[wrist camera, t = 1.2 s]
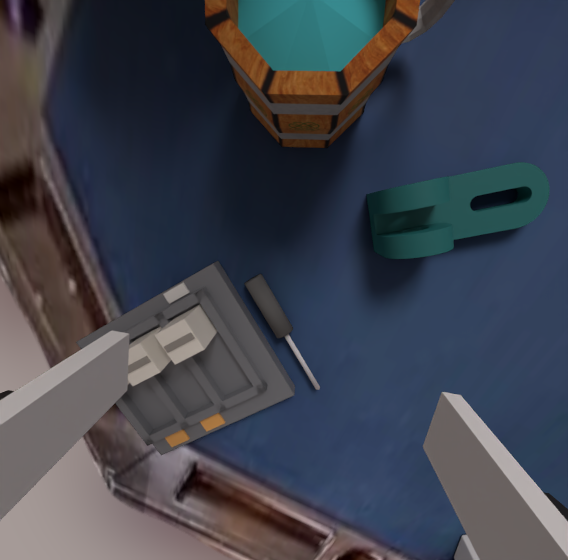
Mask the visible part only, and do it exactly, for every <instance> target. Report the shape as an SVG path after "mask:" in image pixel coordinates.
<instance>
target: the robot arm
mask: <svg viewBox="0 0 568 560" xmlns="http://www.w3.org/2000/svg"><path fill="white" fill-rule="evenodd" d="M128 359H129V334H128V333H123V332H118V331H110V332H108V333H107V334H105V335H104V336H102V337H100V338H99V339H97V340H96V341H94V342H92V343H91V344H89V345H88V346H86V347H84V348H83V349H81V350H80V351H78V352H76V353H75V354H73V355H72V356H70V357H68V358H67V359H65V360H64V361H62V362H60V363H59V364H57V365H56V366H54V367H52V368H51V369H49V370H48V371H46V372H44V373H43V374H41V375H40V376H38V377H36V378H35V379H34V380H32V381H30V382H29V383H27V384H25V385H24V386H22V387H21V388H19V389H17V390H16V391H9V390H8V391H5V392H2V393H0V520H1V519H2V518H3V517H4V516H5V515H6V514H7V513H8V512H9V511H10V510H11V509H12V508H13V507H14V506H15V505H16V504H17V502H19V501H20V500H21V498H22V497H24V496H25V495H26V494H27V492H28V491H29V490H30V489H31V488H32V487H33V486H34V485H35V484H36V483H37V482H38V481H39V480H40V479H41V478H42V477H43V476H44V475H45V474H46V473H47V472H48V471H49V470H50V469H51V468H52V467H53V466H54V465H55V464H56V463H57V462H58V461H59V460H60V459H61V458H62V457H63V456H64V455H65V454H66V453H67V452H68V450H69V449H70V448H71V447H72V446H73V445H74V444H75V443H76V442H77V441H78V440H79V439H80V438H81V437H82V436H83V435H84V434H85V433H86V432H87V431H88V430H89V429H90V428H91V427H92V426H93V425H94V424H95V423H96V422H97V421H98V420H99V419H100V418H101V417H102V416H103V415H104V414H105V413H106V412H107V411H108V410H109V409H110V408H111V407H112V406H113V405H114V404H115V402H116V401H117V400H118V399H119V398H120V397H121V396H122V395H123V394H124V393H125V392H126V391H127V387H128ZM423 448H424V450H425V452H426V454H427V456H428V458H429V460H430V462H431V464H432V466H433V468H434V470H435V472H436V474H437V476H438V478H439V480H440V482H441V484H442V486H443V488H444V490H445V492H446V494H447V496H448V498H449V500H450V502H451V504H452V506H453V508H454V510H455V512H456V514H457V516H458V518H459V520H460V522H461V524H462V526H463V528H464V530H465V532H466V534H467V536H468V538H469V540H470V542H471V544H472V546H473V548H474V550H475V552H476V554H477V555H478V557H479V559H480V560H568V509H567V508H566V507H565V506H563V505H562V504H561V503H560V502H559V501H557V500H556V499H555V498H554V497H553V496H551V495H550V494H549V493H544V492H542V491H541V489H540V488H539V487H538V486H537V485H536V483H535V482H534V481H533V480H532V479H531V478H530V476H529V475H528V474H527V473H526V472H525V471H524V469H523V468H522V467H521V466H520V465H519V463H518V462H517V461H516V460H515V459H514V458H513V456H512V455H511V454H510V453H509V452H508V450H507V449H506V448H505V447H504V446H503V445H502V443H501V442H500V441H499V440H498V439H497V438H496V436H495V435H494V434H493V433H492V432H491V430H490V429H489V428H488V427H487V426H486V425H485V423H484V422H483V421H482V420H481V419H480V417H479V416H478V415H477V414H476V413H475V412H474V410H473V409H472V408H471V407H470V406H469V405H468V403H467V402H466V401H465V400H464V399H463V397H462V396H461V395H456V394H451V393H445V392H442V393H441V396H440V399H439V402H438V405H437V407H436V410H435V413H434V416H433V419H432V422H431V425H430V427H429V430H428V433H427V436H426V439H425V442H424V445H423Z"/></svg>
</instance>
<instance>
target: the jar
mask: <svg viewBox="0 0 568 560" xmlns="http://www.w3.org/2000/svg"><path fill="white" fill-rule="evenodd" d="M454 559H455V560H480V559H479V557H478V555H477V554H476V552H475V550H474V548H473V546H472V544H471V542H470V540H469V538H468V536H467V534H466V535H462V536H461V539H460V542H459V544H458V547H457V550H456V552H455V555H454Z"/></svg>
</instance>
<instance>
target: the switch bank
mask: <svg viewBox="0 0 568 560" xmlns="http://www.w3.org/2000/svg"><path fill="white" fill-rule="evenodd" d="M200 304H201V306H202V307H203V309H204V310H205V312H206V314H207V315H208V317H209V318H210V320H211V321H212V323H213V324H214V326H215V328H216V329H217V333H216V334H215V336H214V337H213V338H212V340H211V341H210V343H209V344H208V345H207V347H206V348H205V350H203V351H201V352H199V353H197V354H195V355H193V356H191V357H189V358H187V359H185V360H183V361H181V362H179V363H177V364H174V363H173V361H172V360H171V361H170V362H169V363H168V364H167V365H166V367H165V368H164V369H163V370H162V371H161V372H160V373H158V374H156V375H154V376H152V377H150V378H148V379H146V380H144V381H142V382H141V383H139V384H137V385H135V386H132V385H131V384H130V383H129V384H128V387H127V391H126V392H125V393H124V394H123V395H122V396H121V397H120V398H119V399H118V400H117V401H116V402H115V404H116V405H117V406H118V408H119V409H120V410H121V411H122V413H123V414H124V415H125V417H126V418H127V419H128V421H129V422H130V423H131V425H132V426H133V427H134V429H135V430H136V431H137V433H138V434H139V435H140V437H141V438H142V439H143V440H144V442H145V443H146V444H147V446H148V445H150V444H153V445H154V446H155V448H156V449H157V450H158V452H159V453H160V454H161V455H163V454H165V453H167V452H169V451H172V450H174V449H176V448H178V447H180V446H183V445H185V444H187V443H189V442H192V441H194V440H196V439H198V438H200V437H203V436H205V435H207V434H209V433H211V432H214V431H216V430H218V429H220V428H223V427H225V426H227V425H229V424H231V423H234V422H236V421H238V420H240V419H242V418H245V417H247V416H249V415H251V414H254V413H256V412H258V411H260V410H262V409H265V408H267V407H269V406H271V405H273V404H276V403H278V402H280V401H282V400H284V399H287V398H289V397H291V396H293V395H294V393H295V385H294V384H293V382H292V381H291V379H290V377H289V376H288V374H287V372H286V371H285V369H284V367H283V366H282V364H281V363H280V361H279V359H278V358H277V356H276V354H275V353H274V351H273V349H272V348H271V346H270V345H269V343H268V341H267V340H266V338H265V336H264V335H263V333H262V332H261V330H260V328H259V327H258V325H257V323H256V322H255V320H254V318H253V317H252V315H251V314H250V312H249V310H248V309H247V307H246V305H245V304H244V302H243V300H242V299H241V297H240V296H239V294H238V292H237V291H236V289H235V287H234V286H233V284H232V283H231V281H230V279H229V278H228V276H227V274H226V273H225V271H224V269H223V268H222V266H221V265H220V263H219V261H217V262H215V263H213V264H211V265H210V266H208V267H206V268H204V269H203V270H201V271H199V272H197V273H196V274H194V275H192V276H190V277H189V278H187V279H185V280H183V281H182V282H180V283H178V284H176V285H175V286H173V287H171V288H169V289H168V290H166V291H164V292H163V293H161V294H159V295H157V296H156V297H154V298H152V299H150V300H149V301H147V302H145V303H143V304H142V305H140V306H138V307H136V308H135V309H133V310H131V311H129V312H128V313H126V314H124V315H122V316H121V317H119V318H117V319H115V320H114V321H112V322H110V323H108V324H107V325H105V326H103V327H102V328H100V329H98V330H96V331H95V332H93V333H91V334H89V335H88V336H86V337H84V338H82V339H81V340H79V341H77V342H76V343H77V344H78V346H79V347H80V348H81V349H83V348H84V347H86V346H88V345H89V344H91V343H92V342H94V341H96V340H97V339H99V338H100V337H102V336H104V335H105V334H107V333H108V332H110V331H118V332H123V333H128V334H129V345H130V344H131V343H132V342H134V341H135V340H136V339H138V338H140V337H141V336H143V335H145V334H147V333H149V332H151V331H152V330H154V329H156V328H158V327H160V326H161V328H164V327H165V326H166V325H167V324H168V323H170V322H171V321H172V320H173V319H174V318H176V317H178V316H180V315H182V314H183V313H185V312H187V311H189V310H191V309H192V308H194V307H196V306H198V305H200Z"/></svg>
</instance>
